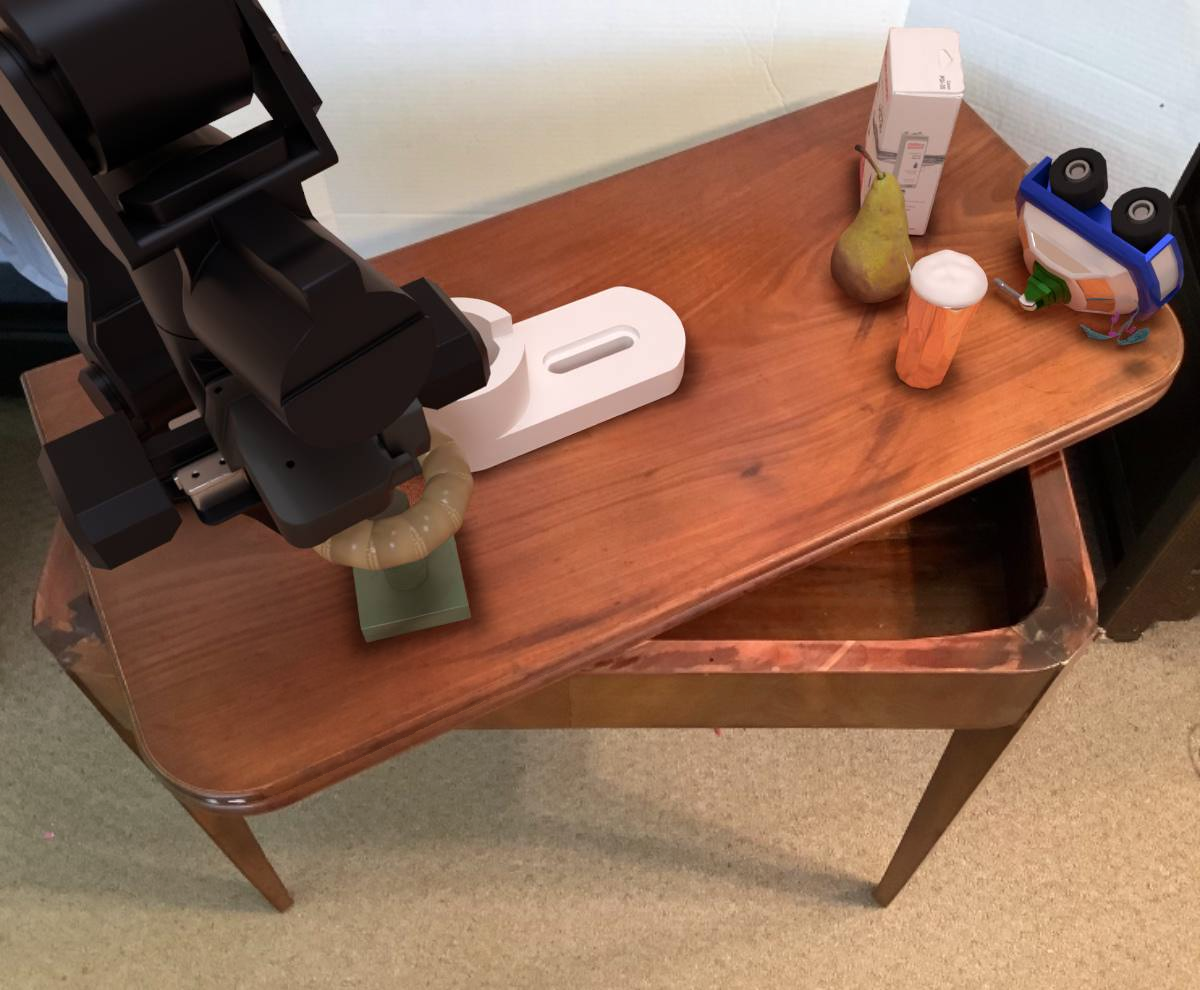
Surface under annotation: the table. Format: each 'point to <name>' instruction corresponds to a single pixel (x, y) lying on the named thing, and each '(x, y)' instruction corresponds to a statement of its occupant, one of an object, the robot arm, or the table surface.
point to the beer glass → (937, 315)
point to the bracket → (563, 371)
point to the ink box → (914, 116)
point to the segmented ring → (411, 515)
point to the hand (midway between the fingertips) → (320, 522)
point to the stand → (411, 589)
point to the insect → (1136, 336)
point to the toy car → (1093, 240)
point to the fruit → (875, 244)
